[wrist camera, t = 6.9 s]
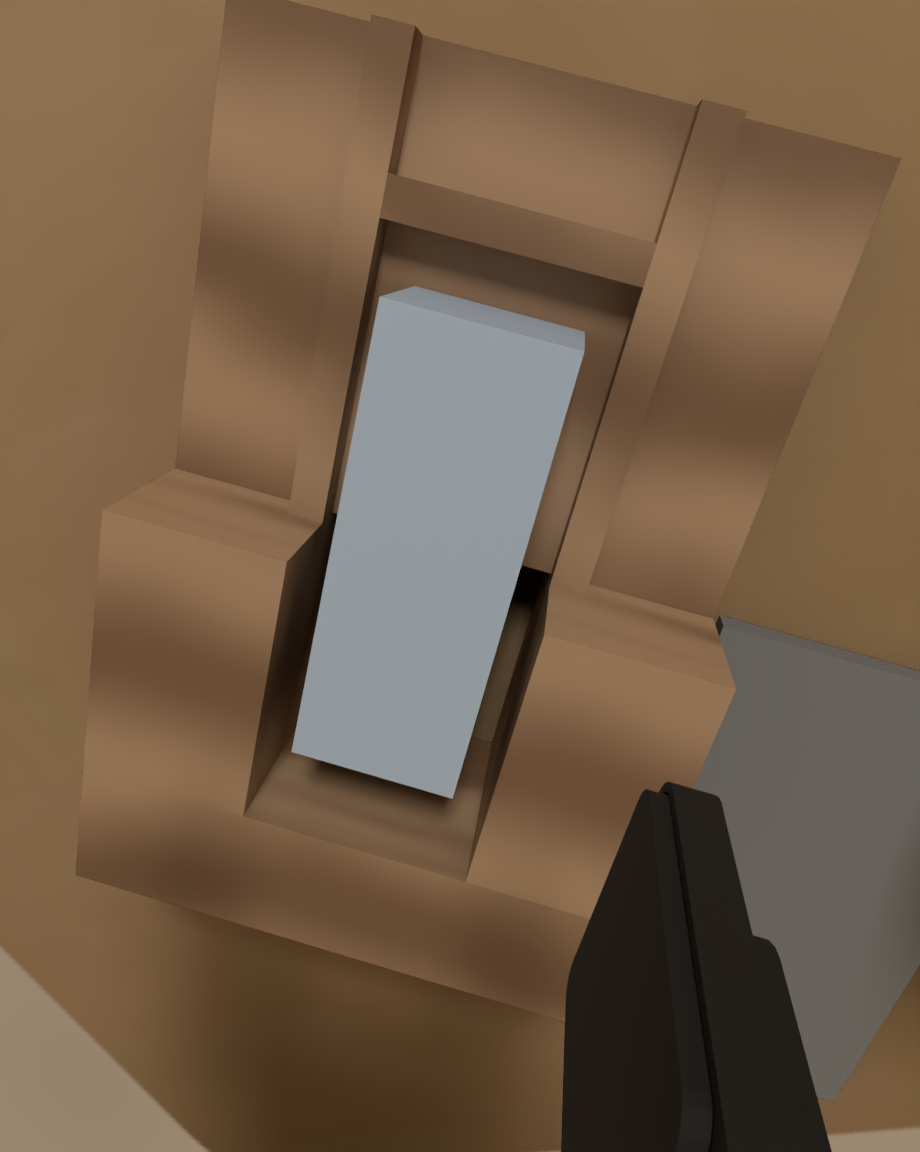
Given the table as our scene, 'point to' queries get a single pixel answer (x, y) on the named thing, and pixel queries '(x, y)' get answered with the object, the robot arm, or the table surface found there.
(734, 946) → the robot arm
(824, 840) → the mat
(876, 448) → the table surface
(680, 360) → the jig
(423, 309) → the bar
